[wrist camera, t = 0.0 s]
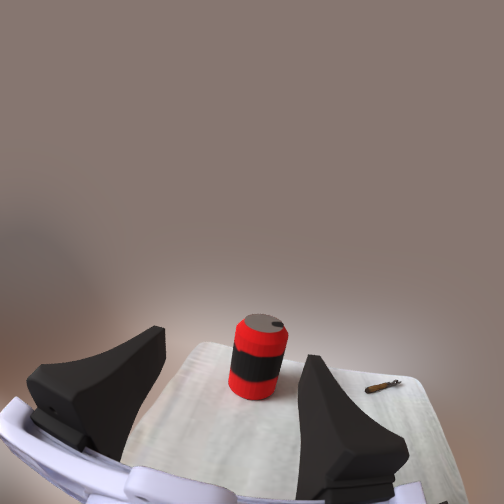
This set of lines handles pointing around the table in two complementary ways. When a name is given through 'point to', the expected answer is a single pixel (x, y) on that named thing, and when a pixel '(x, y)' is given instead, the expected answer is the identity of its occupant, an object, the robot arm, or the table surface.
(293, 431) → the table surface
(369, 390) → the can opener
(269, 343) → the soda can
